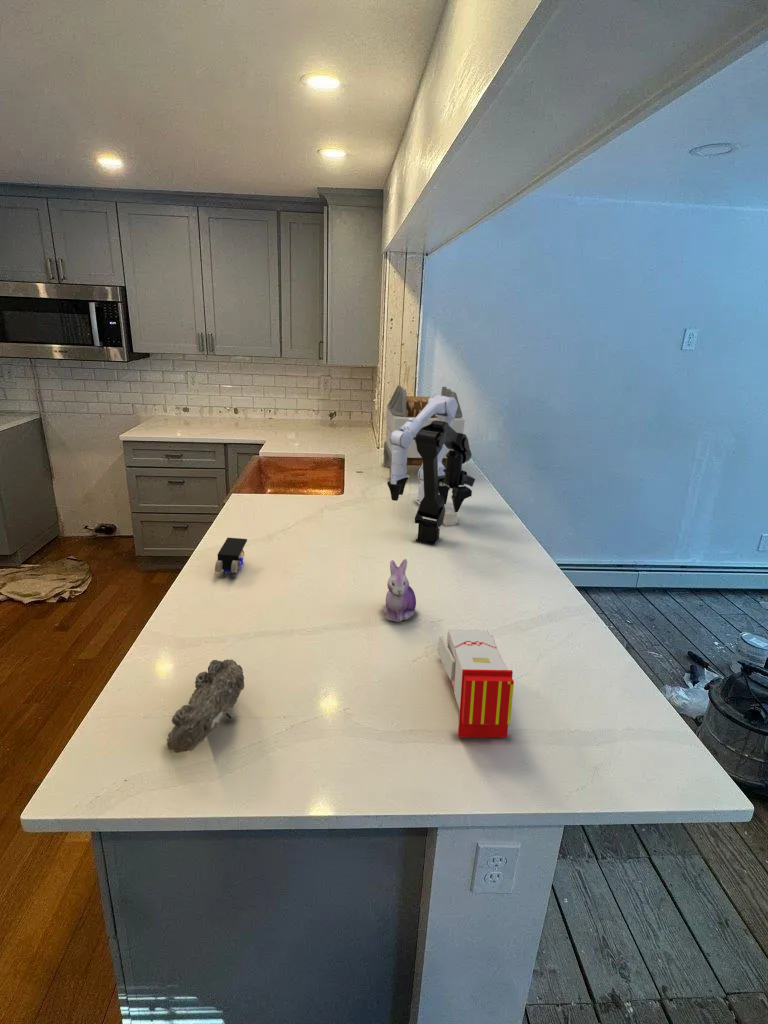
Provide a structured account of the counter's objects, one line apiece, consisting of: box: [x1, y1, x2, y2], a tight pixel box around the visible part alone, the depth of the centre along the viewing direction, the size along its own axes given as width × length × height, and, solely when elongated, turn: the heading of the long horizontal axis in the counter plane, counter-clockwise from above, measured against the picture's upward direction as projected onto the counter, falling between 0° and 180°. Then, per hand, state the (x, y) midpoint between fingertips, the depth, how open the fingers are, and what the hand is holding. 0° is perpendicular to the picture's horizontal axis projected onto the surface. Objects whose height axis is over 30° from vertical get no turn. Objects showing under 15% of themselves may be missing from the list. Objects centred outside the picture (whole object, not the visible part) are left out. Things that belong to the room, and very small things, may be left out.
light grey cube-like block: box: [442, 508, 458, 526], centre depth 212 cm, size 4×5×4 cm
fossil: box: [166, 658, 245, 754], centre depth 106 cm, size 22×10×15 cm
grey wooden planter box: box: [383, 384, 465, 481], centre depth 268 cm, size 34×33×41 cm
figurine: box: [384, 558, 417, 623], centre depth 145 cm, size 9×10×15 cm
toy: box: [437, 628, 515, 738], centre depth 117 cm, size 12×13×30 cm
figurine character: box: [214, 537, 248, 578], centre depth 166 cm, size 7×8×15 cm
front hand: (450, 508), depth 210 cm, fingers open, 9 cm apart
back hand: (397, 497), depth 216 cm, fingers open, 7 cm apart
